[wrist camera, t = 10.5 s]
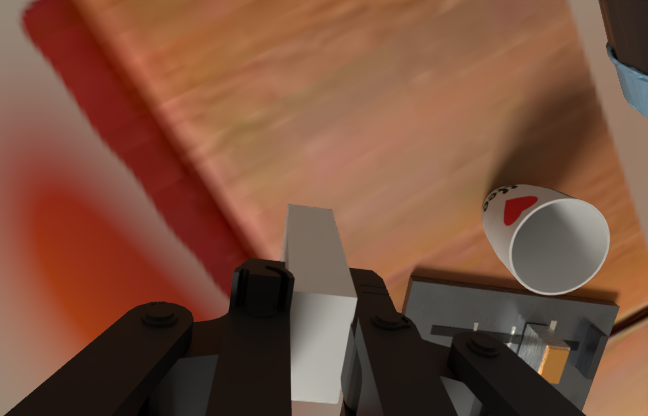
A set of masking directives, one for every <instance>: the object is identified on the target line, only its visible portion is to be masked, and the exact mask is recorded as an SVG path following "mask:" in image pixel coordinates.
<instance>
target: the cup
mask: <svg viewBox="0 0 648 416" xmlns="http://www.w3.org/2000/svg"><path fill="white" fill-rule="evenodd" d="M481 217H482V222H483V227H484V231H485V234H486V236H487V238H488V240H489V242H490V243H491V245H492V247H493V249H494V251H495V252H496V254H497V256H498V257H499V259H500V260H501V261H502V262H503V263H504V264H505V266H506V267H507V268H508V269H509V270H510V272H511V273H512V274H513V275H514V276H515V278H516V279H517V280H518V281H519V282H520V283H521V284H522V285H523V286H524V287H526V288H527V289H529V290H531V291H533V292H536V293H539V294H544V295H558V294H564V293H567V292H570V291H573V290H575V289H577V288H579V287H581V286H582V285H584V284H585V283H586V282H588V281H589V280H590V279H591V278H592V277H593V276H594V275H595V274H596V273H597V272H598V270H599V269H600V268H601V266H602V264H603V263H604V261H605V259H606V256H607V253H608V250H609V244H610V234H609V228H608V225H607V222H606V220H605V218H604V217H603V215H602V214H601V213H600V212H599V210H598V209H596V208H595V207H594V206H592V205H591V204H589V203H587V202H585V201H582V200H579V199H577V198H574V197H572V196H569V195H566V194H564V193H561V192H558V191H556V190H553V189H549V188H543V187H538V186H532V185H527V184H518V185H508V186H502V187H500V188H497V189H496V190H494V191H493V192H491V193H490V194H489V195H488V196H487V198H486V199H485V201H484V203H483V206H482V210H481Z"/></svg>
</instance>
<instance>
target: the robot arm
mask: <svg viewBox="0 0 648 416" xmlns="http://www.w3.org/2000/svg"><path fill="white" fill-rule="evenodd" d="M599 4H600V9H601V13H602V17H603V22H604V26H605V30H606V35H607V39H608V42H607V45H606V48H607V54H608V56H609V58H610V60H611V61H612V62H613V63H614V65H615V67H616V70H617V74H618V77H619V81H620V84H621V88H622V91H623V94H624V97H625V98H626V100H627V102H628V103H629V104H630V106H631V107H633V108H635V109H636V110H638V111H639V112H641V114H642V115H644V116H645V117H647V118H648V0H599ZM193 319H194V318H193V316H192V313H191V312H190V311H189V310H188V309H186V308H185V307H183V306H180V305H177V304H174V303H167V302H150V303H147V304H143V305H139V306H137V307H135V308H133V309H131V310H130V311H128V312H127V313H126V314H125V315H124V316H122V317H121V318H120V319H119V320H117V321H116V322H115V323H114V324H113V325H111V326H110V327H109V328H108V329H107V330H106V331H104V332H103V333H102V334H101V335H100V336H98V337H97V338H96V339H95V340H94V341H93V342H91V343H90V344H89V345H88V346H86V347H85V348H84V349H83V350H82V351H80V352H79V353H78V354H77V355H76V356H75V357H73V358H72V359H71V360H70V361H68V362H67V363H66V364H65V365H64V366H62V367H61V368H60V369H59V370H58V371H57V372H55V373H54V374H53V375H52V376H51V377H49V378H48V379H47V380H46V381H45V382H43V383H42V384H41V385H40V386H39V387H37V388H36V389H35V390H34V391H33V392H31V393H30V394H29V395H28V396H27V397H25V398H24V399H23V400H22V401H21V402H20V403H18V404H17V405H16V406H15V407H14V408H12V409H11V410H10V411H9V412H8V413H6V414H5V415H4V416H292V408H291V400H297V401H309V402H321V403H332V404H338V399H339V393H340V388H341V386H342V392H343V403H342V407H341V413H340V416H586V415H585V414H584V413H583V412H581V411H580V410H579V409H578V408H577V407H576V406H575V405H574V404H572V403H571V402H570V401H569V400H568V399H567V398H566V397H564V396H563V395H562V394H561V393H560V392H559V391H558V390H557V389H555V388H554V387H553V386H552V385H551V384H550V383H549V382H548V381H546V380H545V379H544V378H543V377H542V376H541V375H540V374H539V373H537V372H536V371H535V370H534V369H533V368H532V367H531V366H530V365H528V364H527V363H526V362H525V361H524V360H523V359H522V358H521V357H519V356H518V355H517V354H516V353H515V352H514V351H513V350H512V349H510V348H509V347H508V346H507V345H505V344H504V343H502V342H501V341H500V340H497V339H495V338H493V337H491V336H490V335H488V334H485V333H483V334H482V333H481V332H467V331H465V332H460V333H457V334H456V335H454V336H453V338H452V342H451V346H450V347H447V346H444V345H440V344H436V343H433V342H430V341H427V340H424V339H422V337H421V335H420V333H419V331H418V329H417V327H416V325H415V324H414V323H413V321H412V320H411V319H409V318H408V317H406V316H405V315H403V314H401V313H398V312H396V309H395V307H394V305H393V302H392V300H391V298H390V296H389V293H388V290H387V289H386V286H385V283H384V281H383V279H382V278H381V277H380V276H378V275H377V274H376V273H375V272H374V271H372V270H364V269H355V268H349V267H348V264H347V260H346V257H345V253H344V250H343V246H342V243H341V239H340V236H339V232H338V229H337V226H336V222H335V219H334V215H333V212H332V209H324V208H316V207H308V206H300V205H292V204H288V209H287V216H286V224H285V231H284V238H283V246H282V253H281V260H280V261H273V260H264V259H255V258H250V259H248V260H247V261H245V262H244V263H243V264H241V266H239V267H237V268H236V269H235V270H234V272H233V279H232V288H231V297H230V306H229V311H228V313H227V314H226V315H224V316H222V317H220V318H217V319H213V320H209V321H202V322H193Z"/></svg>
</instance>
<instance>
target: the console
mask: <svg viewBox="0 0 648 416" xmlns="http://www.w3.org/2000/svg"><path fill="white" fill-rule="evenodd" d="M618 310H619V306H618V305H617V304H615V303H614V302H613V301H605V300H598V299H590V298H582V297H574V296H566V295H544V294H539V293H536V292H533V291H526V290H518V289H510V288H502V287H494V286H486V285H478V284H471V283H463V282H455V281H447V280H439V279H431V278H423V277H415V276H410V278H409V283H408V287H407V291H406V296H405V300H404V304H403V309H402V313H401V314H403V315H405V316H406V317H408V318H409V319H411V320H412V321H413V323H414V324H415V325H416V327H417V329H418V331H419V333H420V335H421V337H422V339H424V340H427V341H430V342H433V343H436V344H440V345H444V346H447V347H450V346H451V342H452V338H453V336H454V335H456V334H457V333H460V332H465V331H467V332H481V333H482V334H483V333H485V334H488V335H490V336H491V337H493V338H495V339H497V340H500V341H501V342H502V343H504V344H505V345H507V346H508V347H509V348H510V349H512V350H513V351H514V352H515V353H516V354H517V355H518V352H519V349H520V346H521V343H522V340H523V336H524V333H525V330H526V327H527V324H534V325H543V326H550V327H551V328H552V329H553V330H554V331H555V332H556V334H557V335H558V336H559V337H560V338H561V339H562V340H563V341H564V342H565V343H566V344H567V345H568V346H569V347H570V352H569V355H568V357H567V360H566V363H565V366H564V369H563V372H562V375H561V378H560V381H559V384H554V383H550V384H551V385H552V386H553V387H554V388H555V389H557V390H558V391H559V392H560V393H561V394H562V395H563V396H564V397H566V398H567V399H568V400H569V401H570V402H571V403H572V404H574V405H575V406H576V407H577V408H578V409H579V410H580V411H581V412H582V410H583V407H584V404H585V401H586V399H587V396H588V393H589V390H590V387H591V385H592V382H593V379H594V376H595V374H596V371H597V368H598V365H599V363H600V360H601V357H602V354H603V352H604V349H605V346H606V343H607V341H608V338H609V335H610V332H611V330H612V327H613V324H614V321H615V319H616V316H617V313H618Z"/></svg>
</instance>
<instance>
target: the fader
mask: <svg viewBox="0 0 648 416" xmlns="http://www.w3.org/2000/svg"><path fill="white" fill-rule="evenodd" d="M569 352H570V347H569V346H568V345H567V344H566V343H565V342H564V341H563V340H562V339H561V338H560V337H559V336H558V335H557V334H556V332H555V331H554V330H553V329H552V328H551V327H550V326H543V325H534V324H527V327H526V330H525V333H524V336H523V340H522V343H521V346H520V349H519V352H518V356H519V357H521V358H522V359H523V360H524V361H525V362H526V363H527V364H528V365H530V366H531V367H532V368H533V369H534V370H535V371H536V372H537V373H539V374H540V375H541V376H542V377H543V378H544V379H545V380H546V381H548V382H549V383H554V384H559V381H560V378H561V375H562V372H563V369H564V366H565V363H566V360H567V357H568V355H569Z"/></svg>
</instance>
